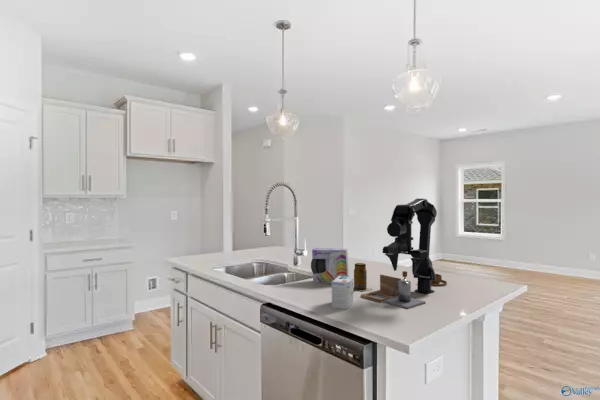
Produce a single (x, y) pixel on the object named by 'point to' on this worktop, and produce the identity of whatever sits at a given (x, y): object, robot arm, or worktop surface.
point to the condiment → (360, 277)
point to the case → (384, 289)
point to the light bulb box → (342, 292)
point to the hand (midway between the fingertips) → (404, 272)
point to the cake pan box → (329, 264)
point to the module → (404, 291)
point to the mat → (405, 305)
